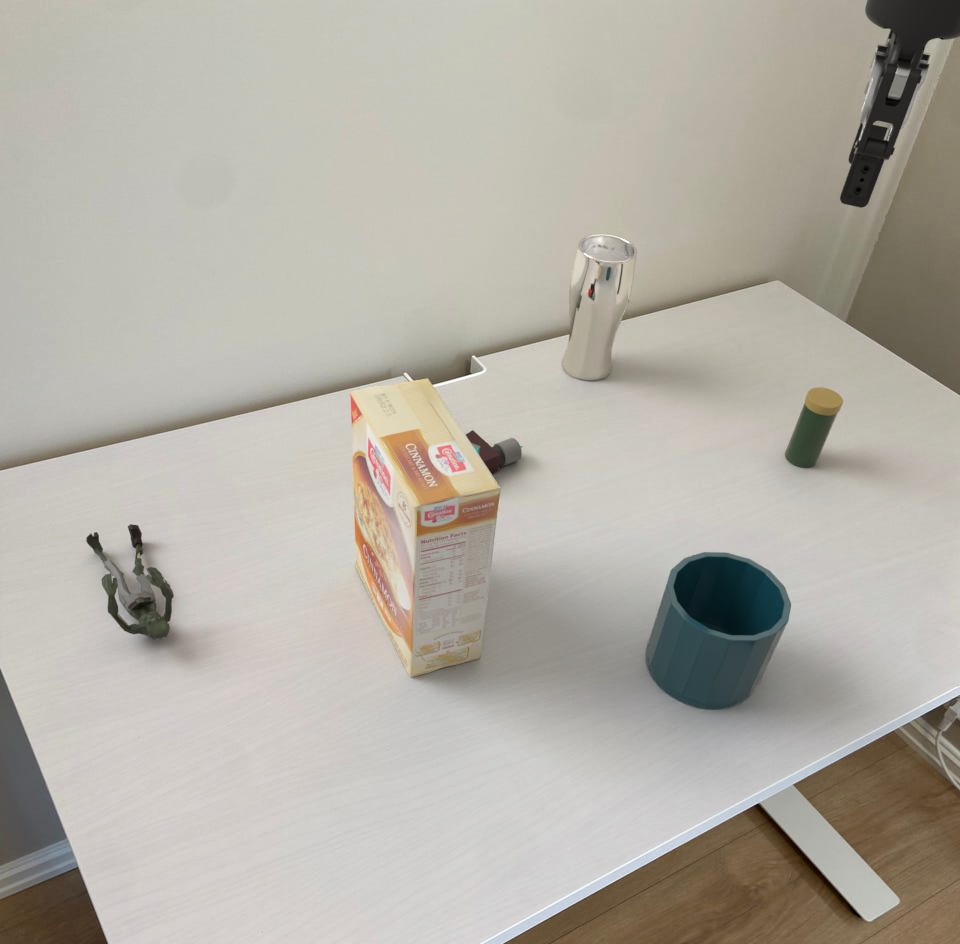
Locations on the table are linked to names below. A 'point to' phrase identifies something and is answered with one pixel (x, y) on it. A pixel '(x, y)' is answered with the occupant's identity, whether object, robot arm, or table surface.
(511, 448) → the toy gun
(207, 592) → the table surface
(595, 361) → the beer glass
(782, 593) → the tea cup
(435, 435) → the coffeecake box
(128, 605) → the zombie figurine
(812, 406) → the tea tin
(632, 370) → the table surface
